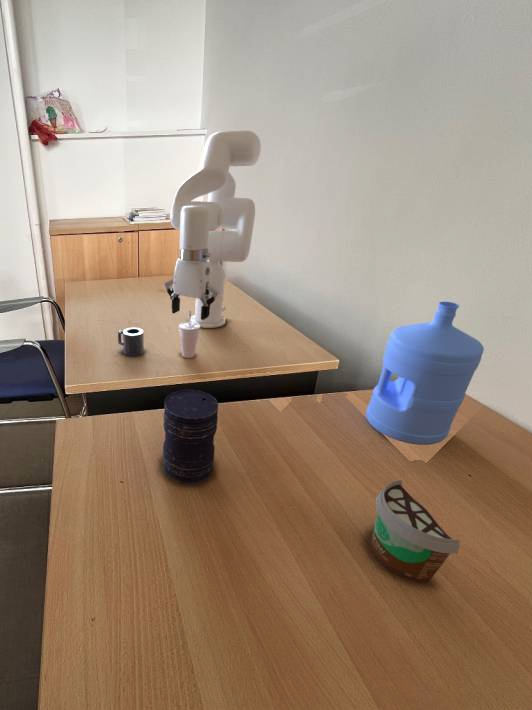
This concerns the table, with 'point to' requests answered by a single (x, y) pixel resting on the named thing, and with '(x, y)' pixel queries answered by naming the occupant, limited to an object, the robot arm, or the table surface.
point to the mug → (132, 341)
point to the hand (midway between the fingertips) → (189, 315)
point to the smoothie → (189, 337)
